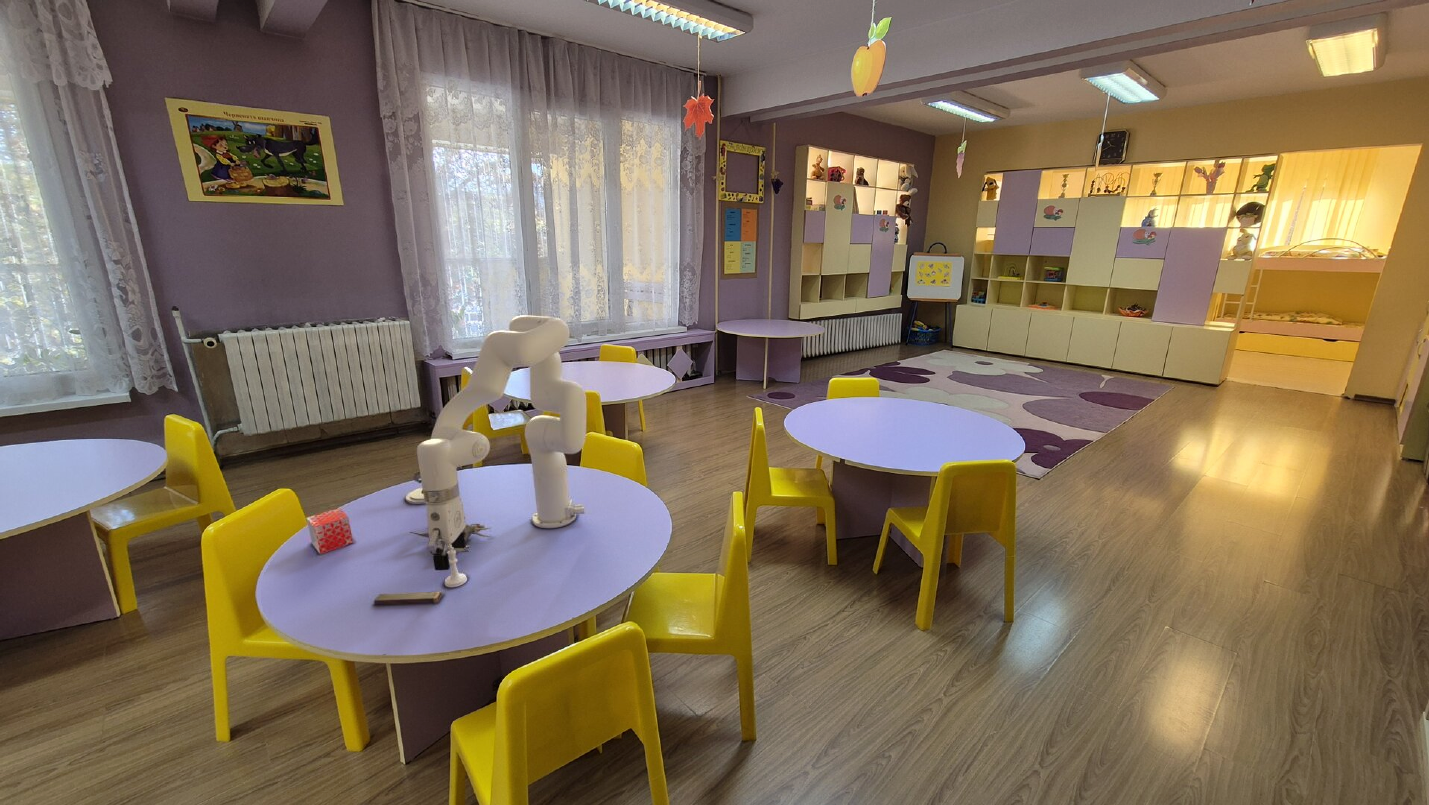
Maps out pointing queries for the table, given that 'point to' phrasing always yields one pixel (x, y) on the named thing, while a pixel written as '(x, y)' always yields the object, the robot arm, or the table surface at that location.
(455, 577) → the chess piece
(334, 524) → the red patterned box
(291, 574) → the table surface
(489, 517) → the table surface
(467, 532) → the figurine
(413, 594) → the walnut stick
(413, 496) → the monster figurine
